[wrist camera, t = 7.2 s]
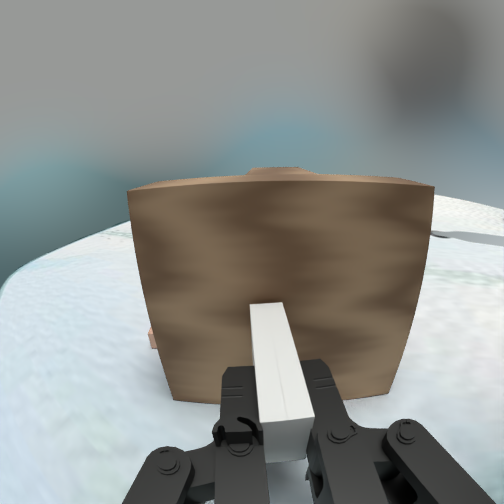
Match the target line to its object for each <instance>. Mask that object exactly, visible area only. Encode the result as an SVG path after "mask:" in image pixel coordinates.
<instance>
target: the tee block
mask: <svg viewBox="0 0 504 504" xmlns="http://www.w3.org/2000/svg"><path fill="white" fill-rule="evenodd" d="M434 188H435V187H434V186H430V185H426V184H422V183H418V182H414V181H410V180H406V179H401V178H393V177H378V176H359V175H328V174H316V173H313V172H310V171H307V170H304V169H301V168H298V167H270V168H252V169H251V170H250V171H249V172H248V173H247V174H246V175H243V176H242V175H241V176H222V177H206V178H192V179H180V180H171V181H170V180H169V181H160V182H155V183H152V184H148V185H145V186H142V187H139V188H135V189H132V190H129V191H127V197H128V206H129V213H130V221H131V228H132V235H133V241H134V247H135V253H136V259H137V264H138V269H139V274H140V279H141V284H142V289H143V294H144V298H145V302H146V307H147V311H148V315H149V319H150V323H151V327H152V331H153V335H154V338H155V342H156V345H157V349H158V352H159V356H160V359H161V363H162V366H163V369H164V372H165V375H166V379H167V382H168V385H169V388H170V391H171V394H172V396H173V399H174V400H179V401H188V402H199V403H212V404H221V384H222V375H223V374H224V372H225V371H226V369H227V367H236V366H253V356H252V339H251V320H250V304H264V303H279V302H282V303H283V307H284V310H285V313H286V317H287V320H288V324H289V327H290V331H291V334H292V337H293V341H294V344H295V348H296V351H297V355H298V358H299V361H303V360H312V359H321V360H322V361H323V362H325V363H326V364H327V365H328V366H329V368H330V371H331V373H332V376H333V378H334V381H335V383H336V386H337V388H338V391H339V394H340V396H341V399H342V400H348V399H356V398H363V397H369V396H375V395H381V394H387V393H389V390H390V388H391V385H392V383H393V380H394V378H395V375H396V372H397V369H398V367H399V364H400V361H401V358H402V355H403V352H404V349H405V346H406V343H407V339H408V336H409V333H410V329H411V326H412V322H413V318H414V315H415V311H416V307H417V303H418V298H419V294H420V290H421V285H422V280H423V275H424V270H425V265H426V259H427V253H428V246H429V239H430V232H431V224H432V214H433V203H434Z"/></svg>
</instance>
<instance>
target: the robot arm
mask: <svg viewBox="0 0 504 504" xmlns="http://www.w3.org/2000/svg"><path fill="white" fill-rule="evenodd" d="M250 320H251V339H252V356H253V366H236V367H227V369H226V371H225V372H224V374H223V375H222V384H221V406H220V419H219V420H218V421H217V422H216V424H215V425H214V427H213V430H212V434H213V438H214V441H213V442H212V443H210V444H209V445H207V446H205V447H202V448H199V449H195V450H191V451H186V452H184V451H183V450H181V449H179V448H176V447H169V446H166V447H160V448H158V449H156V450H154V451H152V452H151V453H150V454H149V456H148V457H147V458H146V460H145V462H144V464H143V466H142V467H141V469H140V471H139V473H138V475H137V477H136V479H135V480H134V482H133V484H132V486H131V488H130V490H129V492H128V493H127V495H126V497H125V499H124V501H123V503H122V504H205V502H206V501H209V500H213V499H215V501H214V504H270V501H269V492H268V482H267V473H266V463H277V462H286V461H295V460H302V459H305V458H306V454H307V457H308V462H309V466H308V469H307V472H306V477H305V481H306V480H309V481H310V486H311V491H312V496H313V501H314V504H496V503H495V502H494V501H493V500H492V499H491V498H490V497H489V496H488V495H487V494H486V492H485V491H484V490H483V489H482V488H481V487H480V486H479V485H478V484H477V483H476V482H475V481H474V480H473V479H472V478H471V476H470V475H469V474H468V473H467V472H466V471H465V470H464V469H463V468H462V467H461V466H460V465H459V464H458V463H457V462H456V461H455V460H454V458H453V457H452V456H451V455H450V454H449V453H448V452H447V451H446V450H445V449H444V448H443V447H442V446H441V445H440V444H439V443H438V442H437V440H436V439H435V438H434V437H433V436H432V435H431V434H430V433H429V432H428V431H427V430H426V429H425V428H424V427H423V426H422V425H421V424H420V423H418V422H417V421H415V420H411V419H401V420H398V421H395V422H394V423H393V424H392V425H390V427H389V429H376V428H364V427H361V426H359V425H357V424H356V423H355V422H353V421H352V420H351V419H350V418H349V416H348V414H347V412H346V409H345V406H344V404H343V401H342V399H341V396H340V394H339V391H338V388H337V386H336V383H335V381H334V378H333V376H332V373H331V371H330V368H329V366H328V365H327V364H326V363H325V362H323V361H322V360H321V359H312V360H303V361H299V358H298V355H297V351H296V348H295V344H294V341H293V337H292V334H291V331H290V327H289V324H288V320H287V317H286V313H285V310H284V307H283V303H282V302H279V303H264V304H250Z"/></svg>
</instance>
